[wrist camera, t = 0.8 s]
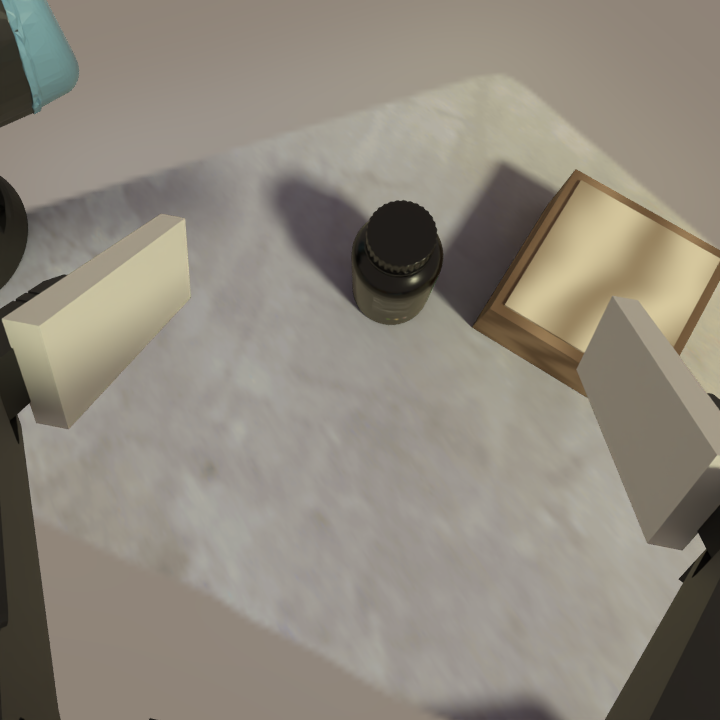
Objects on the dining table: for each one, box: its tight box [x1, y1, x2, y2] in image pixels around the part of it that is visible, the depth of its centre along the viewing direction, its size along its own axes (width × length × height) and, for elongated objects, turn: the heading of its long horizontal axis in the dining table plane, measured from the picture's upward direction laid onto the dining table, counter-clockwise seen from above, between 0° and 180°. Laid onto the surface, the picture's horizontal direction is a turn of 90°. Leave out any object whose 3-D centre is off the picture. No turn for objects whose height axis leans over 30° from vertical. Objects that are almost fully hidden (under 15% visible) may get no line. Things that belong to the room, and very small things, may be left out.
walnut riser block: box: [472, 170, 720, 398], centre depth 41 cm, size 14×14×6 cm
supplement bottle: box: [351, 200, 443, 325], centre depth 38 cm, size 7×7×12 cm
